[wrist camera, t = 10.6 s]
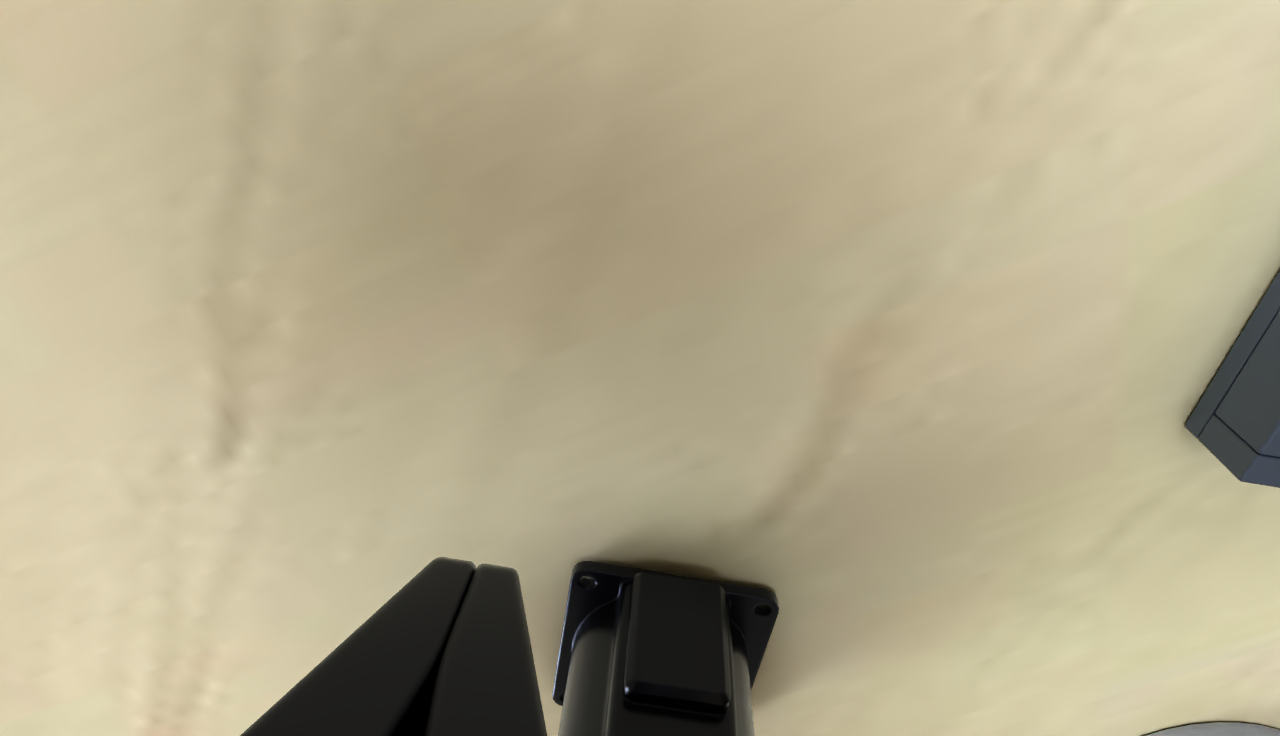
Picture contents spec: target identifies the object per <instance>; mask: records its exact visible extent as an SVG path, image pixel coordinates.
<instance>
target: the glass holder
mask: <svg viewBox="0 0 1280 736" xmlns="http://www.w3.org/2000/svg"><path fill="white" fill-rule="evenodd" d="M1146 736H1280V730H1278V729H1274V728H1271V727H1267V726H1263V725H1256V724H1248V723H1237V722H1214V723H1203V724H1192V725H1187V726H1182V727H1176V728H1171V729H1166V730H1163V731H1160V732H1156V733H1153V734H1149V735H1146Z"/></svg>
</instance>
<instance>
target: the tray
mask: <svg viewBox="0 0 1280 736" xmlns="http://www.w3.org/2000/svg"><path fill="white" fill-rule="evenodd" d="M1185 427H1186V428H1187V429H1188V430H1189V431H1190V432H1191V433H1192V434H1193V435H1194V436H1195V437H1196V438H1198V440H1199V441H1200V442H1201V443H1202V444H1203V445H1204V446H1205V447H1206V448H1207V449H1208V450H1209V451H1210V452H1211V453H1212V454H1213V455H1214V456H1215V457H1216V458H1217V459H1218V460H1219V461H1220V462H1221V463H1222V464H1223V465H1224V466H1225V467H1226V468H1227V469H1228V470H1229V471H1230V472H1231V473H1232V474H1233V475H1234V476H1235V477H1236V478H1237V479H1238V480H1240V481H1242V482H1248V483H1254V484H1260V485H1266V486H1273V487H1279V488H1280V271H1279V272H1278V274H1277V276H1276V277H1275V279H1274V281H1273V282H1272V284H1271V285H1270V287H1269V289H1268V290H1267V292H1266V294H1265V295H1264V297H1263V298H1262V300H1261V302H1260V303H1259V305H1258V307H1257V308H1256V310H1255V312H1254V313H1253V315H1252V316H1251V318H1250V320H1249V321H1248V323H1247V325H1246V326H1245V328H1244V329H1243V331H1242V333H1241V334H1240V336H1239V338H1238V339H1237V341H1236V343H1235V344H1234V346H1233V347H1232V349H1231V351H1230V352H1229V354H1228V356H1227V357H1226V359H1225V360H1224V362H1223V364H1222V365H1221V367H1220V369H1219V370H1218V372H1217V373H1216V375H1215V377H1214V378H1213V380H1212V382H1211V383H1210V385H1209V387H1208V388H1207V390H1206V391H1205V393H1204V395H1203V396H1202V398H1201V400H1200V401H1199V403H1198V404H1197V406H1196V408H1195V409H1194V411H1193V413H1192V414H1191V416H1190V418H1189V419H1188V421H1187V422H1186V424H1185Z"/></svg>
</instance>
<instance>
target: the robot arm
mask: <svg viewBox="0 0 1280 736" xmlns="http://www.w3.org/2000/svg"><path fill="white" fill-rule="evenodd" d="M584 576H588V577H591V578H592V579H586V578H583V577H584ZM762 604H765V605H766V606H758V605H762ZM778 611H779V607H778V599H777V597H776V595H775V594H774V593H773V592H772V591H769V590H766V589H761V588H755V587H748V586H742V585H736V584H730V583H723V582H717V581H711V580H704V579H698V578H692V577H686V576H679V575H673V574H667V573H661V572H654V571H648V570H642V569H636V568H629V567H623V566H617V565H611V564H604V563H598V562H592V561H583V562H580V563H578V564H577V565H575V566H574V568H573V570H572V576H571V581H570V588H569V594H568V600H567V607H566V613H565V619H564V625H563V632H562V638H561V644H560V651H559V657H558V663H557V669H556V676H555V682H554V688H553V695H552V696H553V700H554V701H555V703H557V704H559V705H561V706H563V708H562V714H561V721H560V727H559V733H558V736H754V727H753V714H752V702H751V688H752V686H753V683H754V680H755V677H756V674H757V672H758V669H759V666H760V663H761V660H762V658H763V655H764V652H765V649H766V646H767V643H768V641H769V638H770V635H771V632H772V629H773V627H774V624H775V621H776V618H777V615H778ZM240 736H547V732H546V727H545V721H544V716H543V710H542V704H541V699H540V693H539V688H538V682H537V676H536V671H535V665H534V660H533V654H532V649H531V643H530V637H529V632H528V626H527V621H526V615H525V609H524V604H523V598H522V593H521V587H520V581H519V576H518V573H517V571H516V570H515V569H513V568H508V567H502V566H496V565H490V564H481V565H479V566H478V567H477V568H476V565H475V564H474V563H472V562H470V561H464V560H458V559H452V558H445V557H439V558H436V559H434V560H433V561H432V562H431V563H429V564H428V565H427V566H426V567H425V568H424V569H423V570H422V571H421V572H420V573H418V574H417V575H416V576H415V577H414V578H413V579H412V580H411V581H410V582H409V583H407V584H406V585H405V586H404V587H403V588H402V589H401V590H400V591H399V592H398V593H396V594H395V595H394V596H393V597H392V598H391V599H390V600H389V601H388V602H387V603H386V604H384V605H383V606H382V607H381V608H380V609H379V610H378V611H377V612H376V613H375V614H373V615H372V616H371V617H370V618H369V619H368V620H367V621H366V622H365V623H364V624H362V625H361V626H360V627H359V628H358V629H357V630H356V631H355V632H354V633H353V634H351V635H350V636H349V637H348V638H347V639H346V640H345V641H344V642H343V643H342V644H340V645H339V646H338V647H337V648H336V649H335V650H334V651H333V652H332V653H331V654H329V655H328V656H327V657H326V658H325V659H324V660H323V661H322V662H321V663H320V664H318V665H317V666H316V667H315V668H314V669H313V670H312V671H311V672H310V673H309V674H307V675H306V676H305V677H304V678H303V679H302V680H301V681H300V682H299V683H298V684H296V685H295V686H294V687H293V688H292V689H291V690H290V691H289V692H288V693H287V694H285V695H284V696H283V697H282V698H281V699H280V700H279V701H278V702H277V703H276V704H274V705H273V706H272V707H271V708H270V709H269V710H268V711H267V712H266V713H265V714H263V715H262V716H261V717H260V718H259V719H258V720H257V721H256V722H255V723H254V724H252V725H251V726H250V727H249V728H248V729H247V730H246V731H245V732H244V733H243V734H241V735H240Z"/></svg>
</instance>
